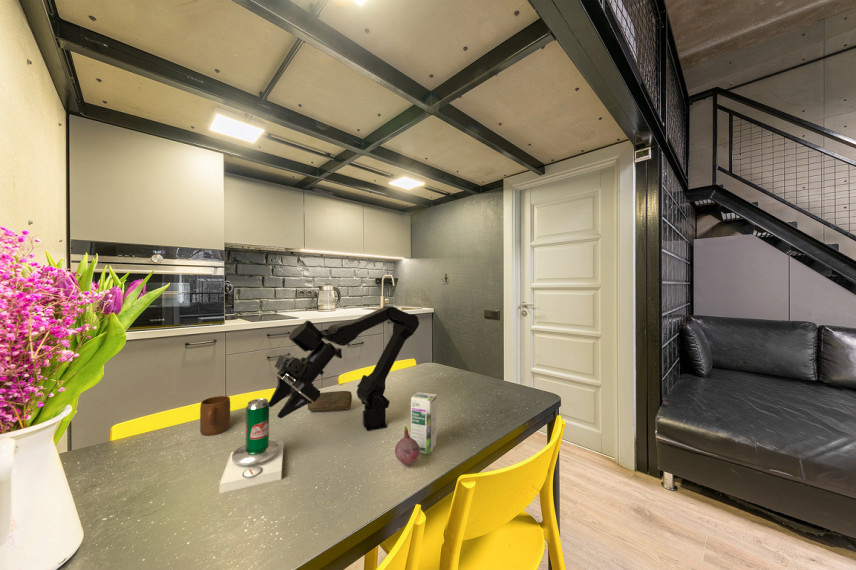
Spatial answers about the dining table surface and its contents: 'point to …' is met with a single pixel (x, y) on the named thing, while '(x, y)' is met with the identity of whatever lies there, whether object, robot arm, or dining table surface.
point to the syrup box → (424, 421)
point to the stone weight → (332, 401)
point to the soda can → (257, 426)
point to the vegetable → (407, 449)
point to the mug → (214, 415)
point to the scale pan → (254, 455)
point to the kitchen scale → (251, 472)
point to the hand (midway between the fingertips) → (273, 411)
